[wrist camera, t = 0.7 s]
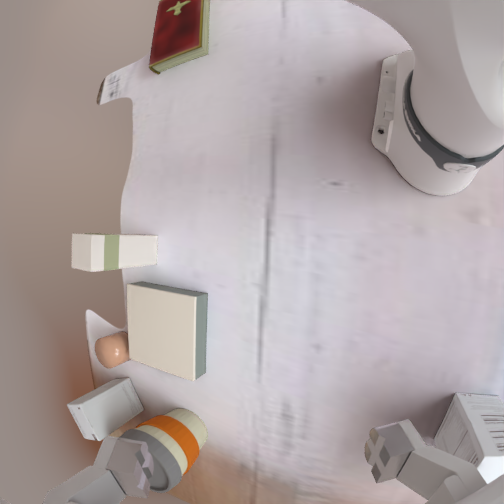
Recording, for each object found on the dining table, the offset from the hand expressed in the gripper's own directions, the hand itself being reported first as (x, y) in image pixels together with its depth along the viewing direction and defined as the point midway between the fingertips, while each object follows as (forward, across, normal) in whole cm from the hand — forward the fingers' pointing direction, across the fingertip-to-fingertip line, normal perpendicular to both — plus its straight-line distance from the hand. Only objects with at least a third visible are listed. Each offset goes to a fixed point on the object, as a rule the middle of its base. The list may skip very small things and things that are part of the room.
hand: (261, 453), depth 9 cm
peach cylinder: (+43, +24, +23) cm, 54 cm away
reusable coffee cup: (+34, +11, +36) cm, 51 cm away
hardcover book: (+52, +10, -42) cm, 68 cm away
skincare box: (+41, +25, +34) cm, 59 cm away
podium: (+39, +12, +16) cm, 44 cm away
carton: (+44, +17, +3) cm, 47 cm away
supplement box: (+16, -34, +25) cm, 45 cm away
